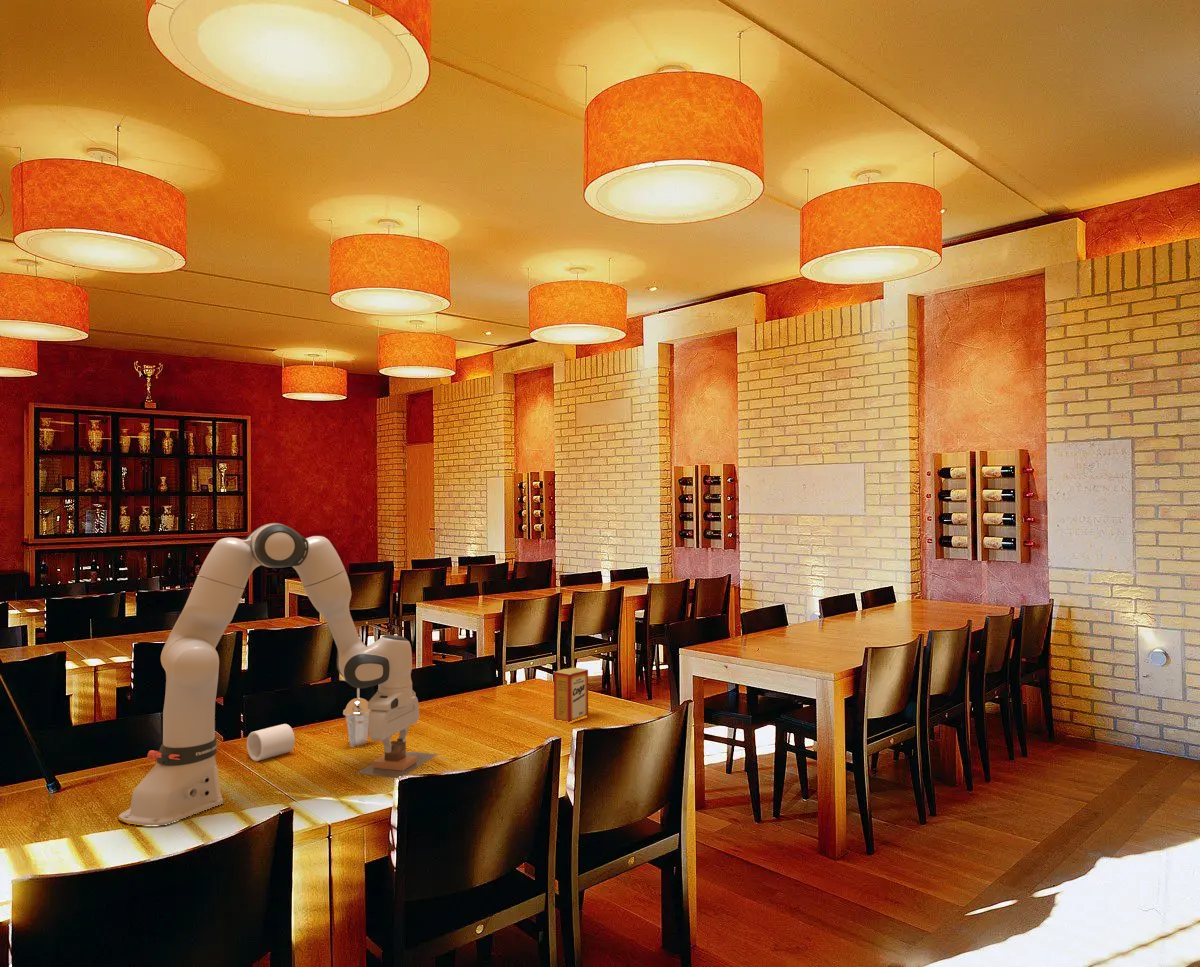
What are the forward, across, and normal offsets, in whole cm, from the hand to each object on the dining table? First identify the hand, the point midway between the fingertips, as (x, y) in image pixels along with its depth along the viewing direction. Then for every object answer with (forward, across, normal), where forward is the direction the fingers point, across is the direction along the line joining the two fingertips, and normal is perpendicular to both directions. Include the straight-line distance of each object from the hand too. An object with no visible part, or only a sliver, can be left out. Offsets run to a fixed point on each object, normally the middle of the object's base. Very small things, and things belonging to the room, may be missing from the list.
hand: (395, 748), depth 217 cm
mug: (+6, -1, -41) cm, 41 cm away
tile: (+4, +4, 0) cm, 5 cm away
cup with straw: (+6, -14, -21) cm, 26 cm away
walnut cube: (+3, 0, 0) cm, 3 cm away
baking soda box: (+5, -58, +30) cm, 66 cm away
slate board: (+5, -2, 0) cm, 6 cm away
